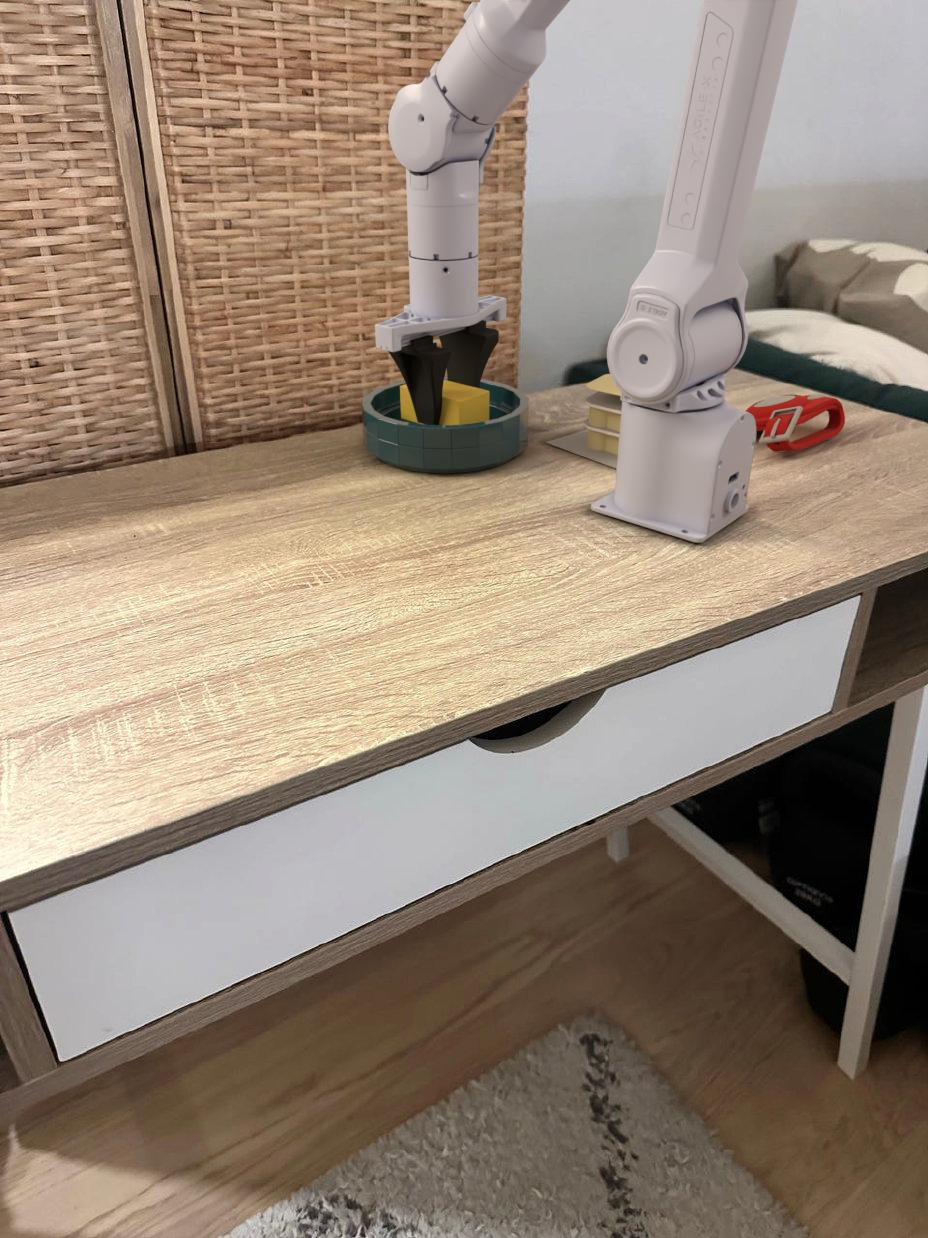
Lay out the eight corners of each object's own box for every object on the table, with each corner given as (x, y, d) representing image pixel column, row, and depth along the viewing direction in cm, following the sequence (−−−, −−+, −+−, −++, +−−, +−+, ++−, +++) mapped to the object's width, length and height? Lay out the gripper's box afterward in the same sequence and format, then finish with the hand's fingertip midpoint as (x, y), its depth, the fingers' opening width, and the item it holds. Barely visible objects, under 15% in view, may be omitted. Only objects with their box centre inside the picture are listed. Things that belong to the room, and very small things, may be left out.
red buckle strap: (713, 408, 90) (812, 378, 90) (722, 452, 92) (819, 423, 92) (765, 419, 79) (878, 385, 79) (774, 470, 80) (885, 436, 80)
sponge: (489, 434, 84) (489, 390, 82) (460, 446, 81) (459, 401, 79) (431, 418, 88) (430, 375, 85) (401, 429, 85) (399, 385, 83)
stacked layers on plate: (695, 449, 84) (703, 388, 81) (628, 473, 79) (634, 409, 76) (611, 421, 90) (616, 364, 88) (545, 442, 85) (547, 382, 83)
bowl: (559, 442, 86) (561, 397, 83) (454, 490, 76) (454, 440, 74) (439, 410, 94) (439, 368, 92) (331, 449, 84) (327, 403, 82)
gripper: (463, 239, 84) (464, 389, 91) (344, 261, 74) (354, 427, 81) (527, 247, 80) (522, 404, 87) (409, 272, 70) (414, 446, 77)
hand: (445, 416), depth 84 cm, fingers closed on sponge, 4 cm apart
